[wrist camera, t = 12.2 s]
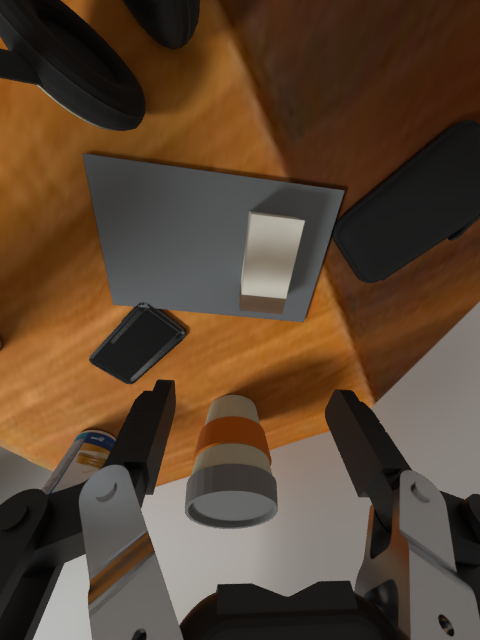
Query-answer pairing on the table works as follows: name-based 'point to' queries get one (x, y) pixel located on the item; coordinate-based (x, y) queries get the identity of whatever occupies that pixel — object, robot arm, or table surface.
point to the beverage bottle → (81, 460)
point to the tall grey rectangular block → (268, 261)
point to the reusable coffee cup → (231, 469)
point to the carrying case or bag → (415, 206)
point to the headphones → (86, 55)
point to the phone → (138, 343)
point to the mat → (198, 234)
